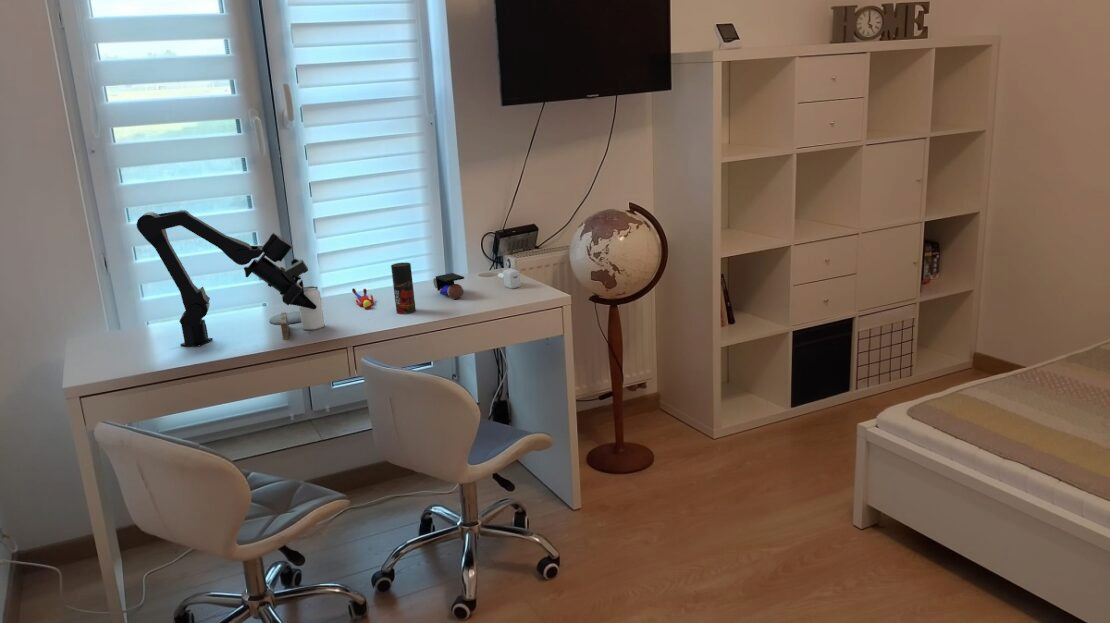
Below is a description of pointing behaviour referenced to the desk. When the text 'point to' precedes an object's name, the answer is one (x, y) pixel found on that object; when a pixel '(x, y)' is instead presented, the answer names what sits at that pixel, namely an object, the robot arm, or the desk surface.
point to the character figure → (364, 299)
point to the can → (312, 310)
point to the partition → (284, 326)
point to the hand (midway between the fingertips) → (315, 305)
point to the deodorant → (403, 288)
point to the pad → (291, 317)
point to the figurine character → (449, 285)
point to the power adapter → (510, 278)
